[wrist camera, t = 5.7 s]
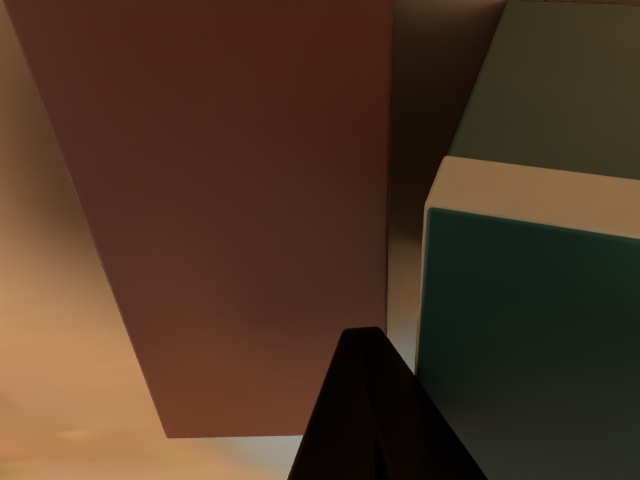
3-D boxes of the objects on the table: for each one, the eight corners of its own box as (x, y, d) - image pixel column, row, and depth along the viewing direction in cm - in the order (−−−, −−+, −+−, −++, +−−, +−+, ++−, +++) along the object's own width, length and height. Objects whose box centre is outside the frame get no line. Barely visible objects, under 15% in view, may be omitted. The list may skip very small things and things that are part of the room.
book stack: (177, 355, 18) (150, 457, 16) (3, -205, 10) (-125, -199, 7) (376, 349, 18) (384, 452, 15) (378, -233, 10) (397, -236, 7)
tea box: (316, 289, 15) (458, 633, 9) (294, 30, 11) (525, 333, 5) (565, 230, 16) (840, 497, 10) (627, -21, 12) (1146, 168, 6)
